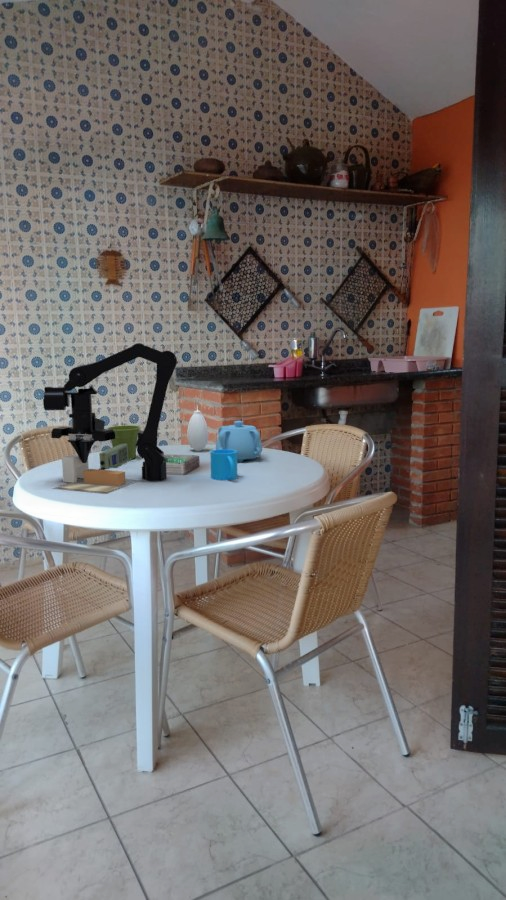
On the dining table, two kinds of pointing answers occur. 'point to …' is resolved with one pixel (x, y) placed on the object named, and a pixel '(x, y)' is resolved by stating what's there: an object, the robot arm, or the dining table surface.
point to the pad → (89, 488)
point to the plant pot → (126, 437)
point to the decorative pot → (240, 440)
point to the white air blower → (197, 431)
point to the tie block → (73, 468)
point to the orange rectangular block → (104, 477)
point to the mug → (223, 464)
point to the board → (81, 481)
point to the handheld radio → (114, 457)
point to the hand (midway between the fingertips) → (84, 462)
